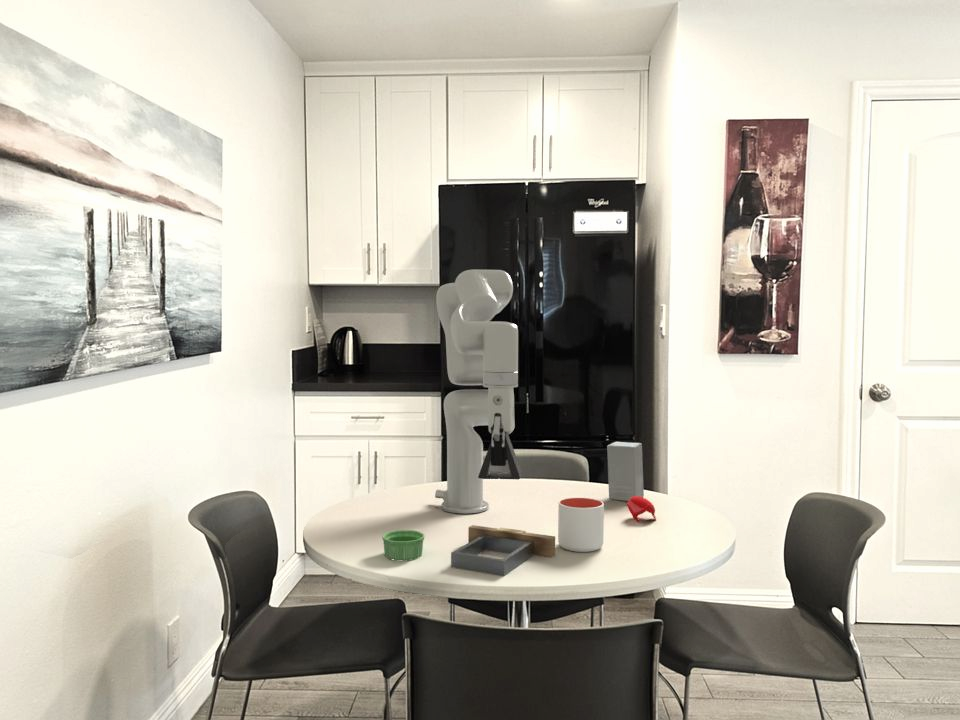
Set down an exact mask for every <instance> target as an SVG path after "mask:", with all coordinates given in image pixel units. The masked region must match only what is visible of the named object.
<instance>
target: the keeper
mask: <svg viewBox="0 0 960 720" xmlns="http://www.w3.org/2000/svg"><path fill="white" fill-rule="evenodd" d="M487 550H488V551H493V552H500V553H506V554H507V555H505V556H504V557H503V558H497V557H491V556H485V555H479V554H480V552H481V553H482V552H483V551H487ZM533 554H534V542H533V541H526V540H519V539H512V538H505V537H498V536H491V535H484V534H483V535H482V536H480V537H478V538H476V539H475V540H473V541H471V542H469V543H465V544H464V545H462V546H461V547H459V548H457V549H454V551H452V552H450V568H453V567H454V569H461V570H467V571H471V572H472V571H473V572H479V573H485V574H490V575H496V576H503V577H504V576H506V575H508V574H509V573H511V572H513V570H515V569H516V568H518V567H519V566H520V565H523V563H525V562H526V561H528V560H529V559H530V558H532V557H533V556H534V555H533Z"/></svg>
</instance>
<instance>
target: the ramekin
mask: <svg viewBox="0 0 960 720" xmlns="http://www.w3.org/2000/svg"><path fill="white" fill-rule="evenodd" d="M424 540H425V534H424V533H422V532H421V531H418V530H411V529H410V530H409V529H399V530H390V531H389V532H386V533H384V534H383V535H382V541H383V551H384V552H383V553H384V556H385V558H387V557H388V558H390V559H389V560H391V559H394V560H393V561H397V560H407V561H411V560H410V559H413V560H416V559H415V558H417V559H419V558H420V557H422V555H423V549H424V548H423V547H424ZM418 557H419V558H418ZM388 558H387V559H388Z"/></svg>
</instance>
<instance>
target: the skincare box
mask: <svg viewBox="0 0 960 720" xmlns="http://www.w3.org/2000/svg"><path fill="white" fill-rule="evenodd" d="M606 450H607V454H606V455H607V473H608V474H607V477H608V478H607V479H608V482H607V483H608V499H609V500H613V499H614V500H615V501H622V502H625V501H626V502H628V500H629V499H630V498H631V497H634V496H639V497H643V498H644V494H645V492H644V469H643V464H644V463H643V444H642V443H641V442H627V441H623V442H622V441H614V442H612V443H610V444H608V445H607V446H606Z"/></svg>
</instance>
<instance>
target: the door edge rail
mask: <svg viewBox="0 0 960 720" xmlns="http://www.w3.org/2000/svg"><path fill="white" fill-rule="evenodd" d="M467 530H468V534H467V535H468V540H467V541H468V543H469V542H471V541H473V540H475V539H476V538H478V537H480V536H482V535H483V534H484V535H491V536H498V537H505V538H512V539H519V540H526V541H533V542H534V554H533V556H541V557H549V558H553V557H554V556H555V555H556V536H555V535H554V536H553V535H547V534H542V533H541V534H538V533H534V532H533V533H532V532H527V531H526V530H523V529H522V530H521V529H513V528H506V527H499V528H497V527H489V526H481V525H474V524H472V525H470V526H468V529H467Z"/></svg>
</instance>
